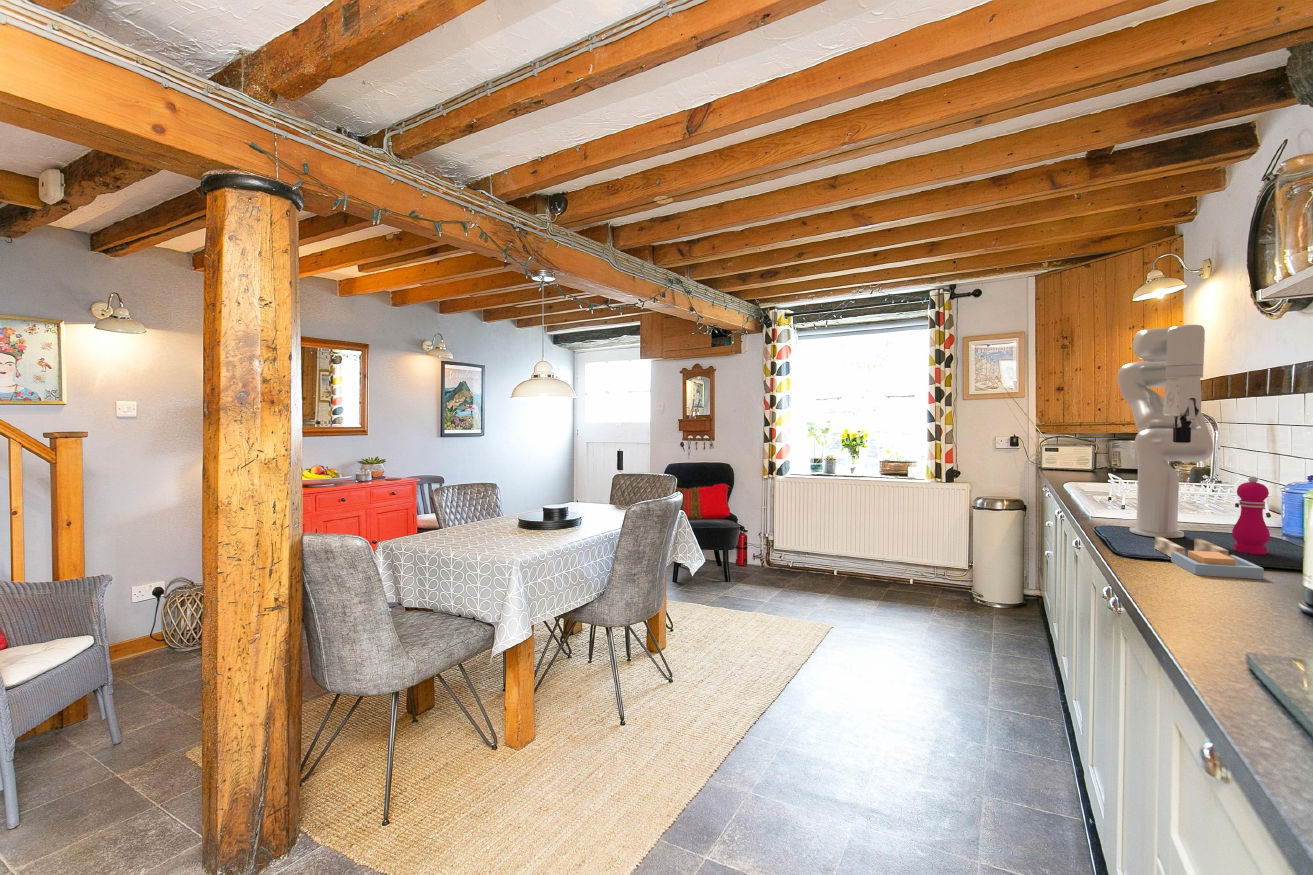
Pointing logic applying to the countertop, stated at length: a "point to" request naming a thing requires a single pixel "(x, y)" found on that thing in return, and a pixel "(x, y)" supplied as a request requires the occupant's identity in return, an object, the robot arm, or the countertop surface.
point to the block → (1211, 558)
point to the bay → (1219, 567)
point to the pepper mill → (1251, 519)
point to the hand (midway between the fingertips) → (1181, 442)
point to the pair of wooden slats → (1170, 547)
